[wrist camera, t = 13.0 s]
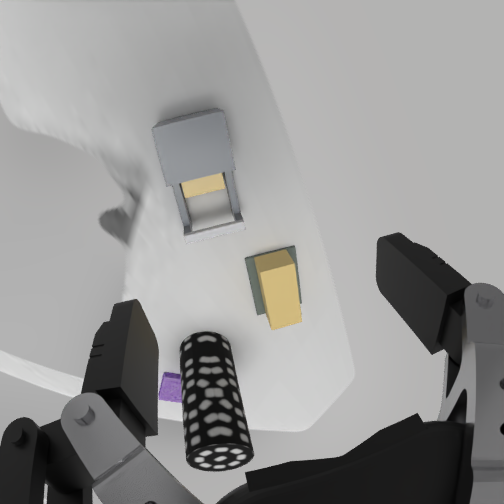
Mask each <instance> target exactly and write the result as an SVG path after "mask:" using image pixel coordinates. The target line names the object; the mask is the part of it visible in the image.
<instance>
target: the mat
mask: <svg viewBox="0 0 504 504" xmlns="http://www.w3.org/2000/svg"><path fill="white" fill-rule="evenodd" d="M284 249H286V250H287V252H288V253H289V255H290V257H291V258H292V260H293V262H294V263H295V270H296V277H297V285H298V293H299V301H300V304H301V303H302V301H301V292H300V283H299V275H298V266H297V258H296V250H295V246H290V247H287V248H283V249H279V250H275V251H271V252H267V253H263V254H259V255H255V256H251V257H247V258H245V261H246V265H247V270H248V275H249V279H250V284H251V288H252V293H253V297H254V302H255V306H256V311H257V315H261V314H264V313H266V312H265V308H264V303H263V298H262V293H261V289H260V284H259V279H258V274H257V269H256V265H255V260H254V257H257V256H261V255H265V254H269V253H273V252H277V251H281V250H284Z"/></svg>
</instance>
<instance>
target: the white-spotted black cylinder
mask: <svg viewBox="0 0 504 504" xmlns="http://www.w3.org/2000/svg"><path fill="white" fill-rule="evenodd" d="M180 372H181V393H182V410H183V425H184V438H185V450H186V461H187V463H188V464H189V465H190V466H191V467H193V468H196V469H199V470H203V471H226V470H232V469H235V468H238V467H241V466H243V465H245V464H247V463H248V462H250V461H251V460H252V459H253V456H254V451H253V447H252V443H251V439H250V434H249V430H248V425H247V421H246V416H245V412H244V407H243V403H242V398H241V394H240V389H239V385H238V380H237V375H236V370H235V366H234V361H233V356H232V351H231V346H230V343H229V342H228V340H227V339H226V338H225V337H223V336H222V335H220V334H217V333H214V332H199V333H195V334H193V335H191V336H189V337H187V338H186V339H185V340H184V341H183V342H182V344H181V346H180Z"/></svg>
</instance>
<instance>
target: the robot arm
mask: <svg viewBox="0 0 504 504" xmlns="http://www.w3.org/2000/svg"><path fill="white" fill-rule="evenodd" d="M376 262H377V263H376V281H377V285H378V288H379V290H380V292H381V293H382V295H383V296H384V297H385V298H386V299H387V300H388V302H389V303H390V304H391V305H392V306H393V308H394V309H395V310H396V311H397V312H398V314H399V315H400V316H401V317H402V318H403V320H404V321H405V322H406V323H407V324H408V326H409V327H410V328H411V329H412V331H413V332H414V333H415V334H416V336H417V337H418V338H419V339H420V341H421V342H422V343H423V344H424V346H425V347H426V348H427V349H428V351H429V352H430V353H431V354H432V355H433V354H435V353H437V352H439V351H440V350H443V349H445V350H446V352H447V355H446V358H445V369H444V382H443V394H442V403H441V409H440V413H439V416H438V419H437V421H430V422H423V421H422V420H421V418H420V416H419V415H418V413H416V414H414V415H412V416H411V417H408V418H406V419H404V420H402V421H400V422H397V423H395V424H393V425H391V426H388V427H386V428H384V429H382V430H380V431H378V432H377V433H375V434H374V435H373V436H371V437H370V438H368V439H367V440H366V441H364V442H363V443H361V444H360V445H358V446H357V447H355V448H354V449H352V450H351V451H349V452H348V453H346V454H345V455H343V456H340V457H336V458H326V459H316V460H304V461H290V462H286V463H282V464H279V465H275V466H271V467H267V468H263V469H258V470H254V471H249V472H245V475H246V479H247V483H246V484H244V485H241V486H239V487H238V488H236V489H234V490H233V491H231V492H230V493H228V494H227V495H226V496H224V497H223V498H221V500H219V501H218V502H217V503H216V504H504V294H503V293H502V292H501V290H499V289H498V288H497V287H495V286H493V285H490V284H486V283H475V284H471V283H470V282H469V281H467V280H466V279H465V278H464V277H463V276H462V275H461V274H459V273H458V272H457V271H456V270H454V269H453V268H452V267H451V266H450V265H448V264H446V263H445V261H444V260H442V259H441V258H440V257H438V256H437V255H436V254H435V253H434V252H432V251H431V250H430V249H429V248H427V247H425V246H422V245H420V244H417V243H413V242H412V241H410V240H409V239H408V238H407V237H405V236H404V235H403V234H401V233H399V232H398V233H394V234H391V235H387V236H383V237H380V238H379V239H378V241H377V260H376ZM92 347H93V348H92V349H91V353H90V359H89V361H88V365H87V369H86V373H85V378H84V382H83V387H82V391H81V394H80V395H78V396H76V397H74V398H73V399H71V400H70V401H69V402H68V403H67V404H66V406H65V407H64V409H63V411H62V414H61V419H59V420H57V421H54V422H52V423H49V424H46V425H44V426H41V427H39V426H38V425H37V424H36V423H35V422H34V421H33V420H31V419H30V418H26V417H23V418H19V419H16V420H14V421H13V422H11V424H9V425H8V427H7V428H6V430H5V431H4V434H3V437H2V441H1V446H0V504H43V500H44V485H45V484H47V485H48V492H47V504H92V488H93V490H94V492H95V493H96V495H97V496H98V498H99V499H100V500H101V502H102V503H103V504H203V503H202V502H201V501H200V500H199V499H198V498H197V497H195V496H194V495H193V494H192V493H191V492H190V491H189V490H188V489H186V488H185V487H184V486H183V485H182V484H181V483H180V482H179V481H178V480H177V479H176V478H175V477H174V476H173V475H172V474H170V473H169V471H168V470H166V468H164V466H163V465H162V464H161V463H160V462H159V461H158V460H157V459H156V458H155V457H154V456H153V455H152V454H151V453H150V452H149V451H148V450H147V449H146V448H145V437H147V436H155V435H158V422H157V421H158V359H159V349H158V344H157V340H156V337H155V334H154V332H153V330H152V328H151V326H150V324H149V322H148V319H147V317H146V315H145V313H144V311H143V309H142V306H141V304H140V302H139V301H138V300H137V299H133V300H129V301H125V302H121V303H117V304H114V306H113V310H112V314H111V318H110V321H108V322H104V323H103V324H102V325H101V327H100V328H99V330H98V331H97V332H96V334H95V338H94V341H93V345H92Z"/></svg>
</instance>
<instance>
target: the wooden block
mask: <svg viewBox="0 0 504 504" xmlns="http://www.w3.org/2000/svg"><path fill="white" fill-rule="evenodd" d="M254 260H255V265H256V269H257V274H258V279H259V284H260V289H261V293H262V298H263V303H264V308H265V312H266V316H267V318H268V321H269V324H270V327H271V329H272V330H275V329H278V328H282V327H285V326H289V325H292V324H296V323H299V322H302V318H301V309H300V301H299V293H298V285H297V277H296V270H295V263H294V262H293V260H292V258H291V257H290V255H289V253H288V252H287V250H286V249H284V250H281V251H277V252H273V253H269V254H265V255H261V256H257V257H254Z"/></svg>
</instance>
